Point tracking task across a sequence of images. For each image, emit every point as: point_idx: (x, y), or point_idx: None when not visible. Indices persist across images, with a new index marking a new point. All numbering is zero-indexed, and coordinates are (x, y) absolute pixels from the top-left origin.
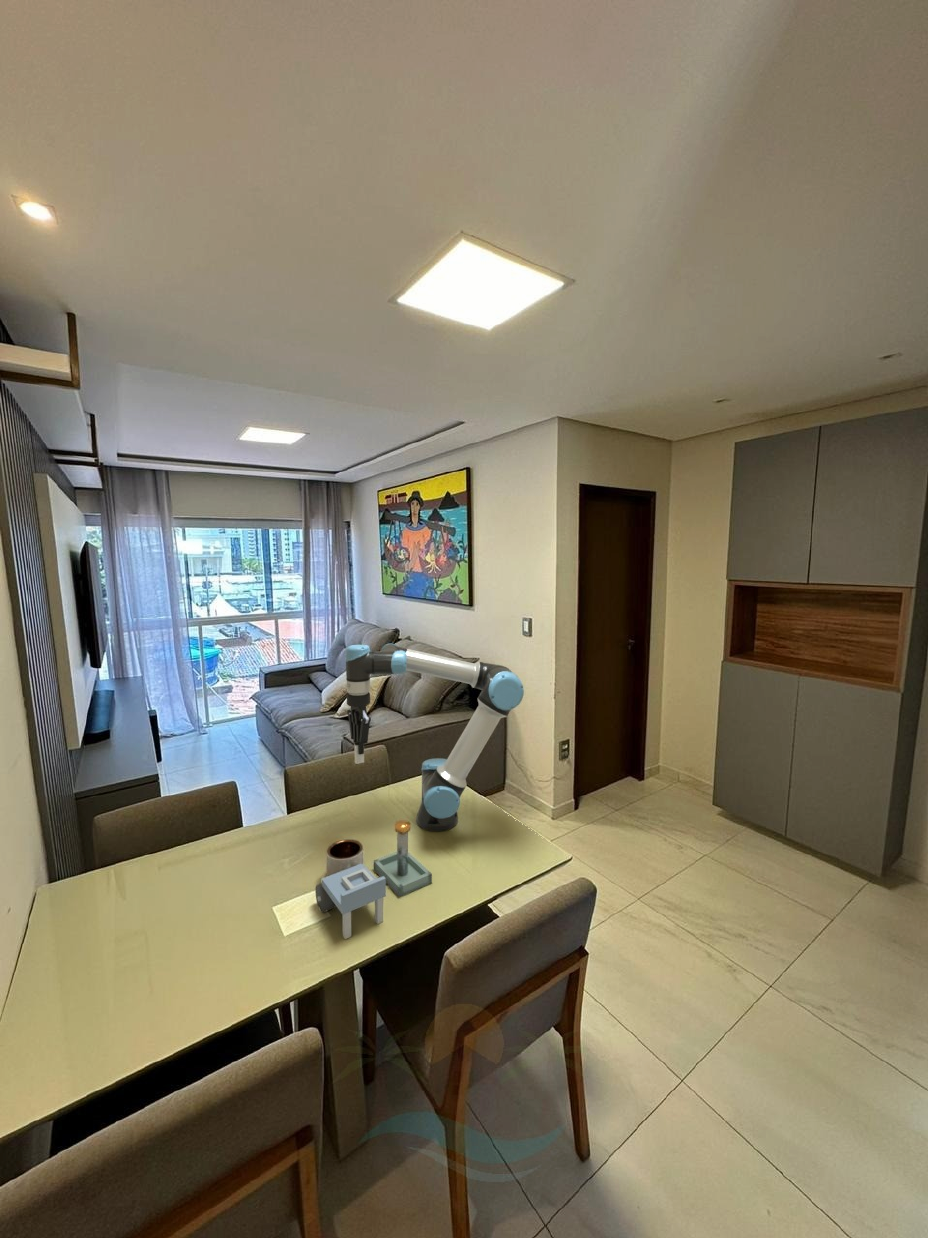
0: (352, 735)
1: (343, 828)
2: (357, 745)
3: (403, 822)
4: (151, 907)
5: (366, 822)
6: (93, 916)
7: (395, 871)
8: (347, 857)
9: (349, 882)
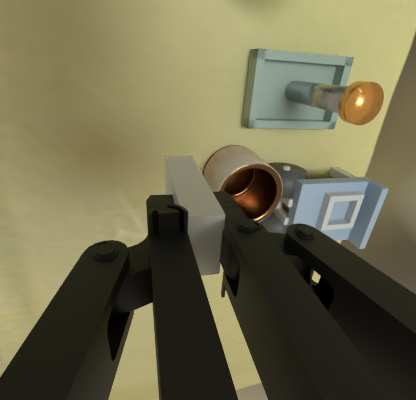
0: (125, 332)
1: (53, 103)
2: (218, 261)
3: (362, 97)
4: (137, 356)
5: (48, 32)
6: (121, 390)
7: (281, 99)
8: (275, 201)
9: (338, 225)
